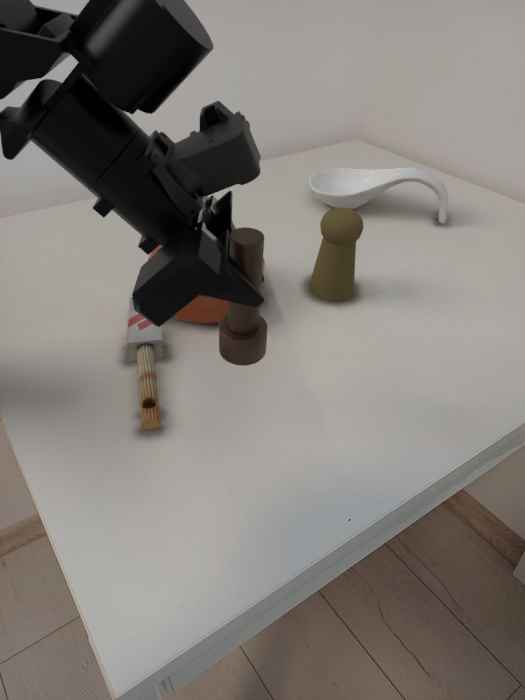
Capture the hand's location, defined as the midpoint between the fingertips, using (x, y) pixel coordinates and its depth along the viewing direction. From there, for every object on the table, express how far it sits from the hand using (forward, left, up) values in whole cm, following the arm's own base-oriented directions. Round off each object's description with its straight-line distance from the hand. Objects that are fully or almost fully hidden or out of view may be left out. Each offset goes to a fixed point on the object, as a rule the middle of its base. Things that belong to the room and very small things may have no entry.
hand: (260, 293), depth 44 cm
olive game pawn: (+8, +22, -14) cm, 27 cm away
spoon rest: (+15, +48, -14) cm, 52 cm away
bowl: (-8, +18, -13) cm, 24 cm away
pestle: (-1, 0, -7) cm, 7 cm away
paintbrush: (-12, +4, -14) cm, 19 cm away
